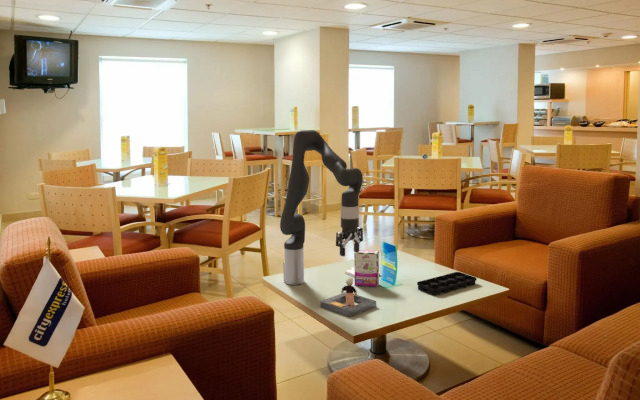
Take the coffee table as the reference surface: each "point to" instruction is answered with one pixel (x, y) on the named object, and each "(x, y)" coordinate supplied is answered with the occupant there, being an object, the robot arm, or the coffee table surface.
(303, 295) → the coffee table surface
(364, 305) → the holder board
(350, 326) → the coffee table surface
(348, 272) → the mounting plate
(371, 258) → the candy bar box
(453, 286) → the egg carton
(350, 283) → the grandmother figurine
